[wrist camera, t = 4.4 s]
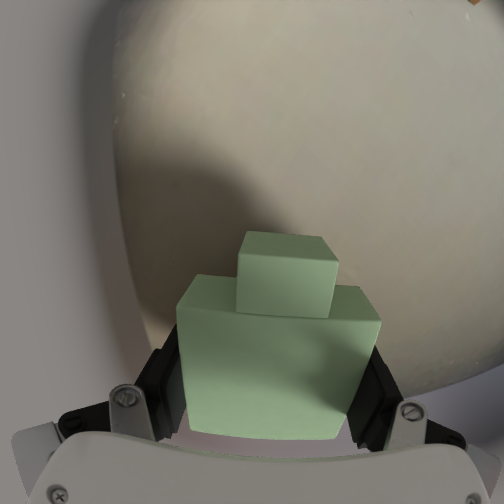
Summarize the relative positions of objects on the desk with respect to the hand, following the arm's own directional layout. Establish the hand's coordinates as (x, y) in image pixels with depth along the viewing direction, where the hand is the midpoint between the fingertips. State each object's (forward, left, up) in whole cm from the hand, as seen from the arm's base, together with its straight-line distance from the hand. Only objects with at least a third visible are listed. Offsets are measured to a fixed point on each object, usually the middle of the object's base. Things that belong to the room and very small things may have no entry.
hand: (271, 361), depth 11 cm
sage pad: (0, 0, -1) cm, 1 cm away
